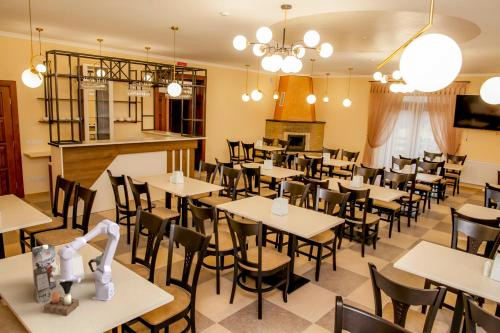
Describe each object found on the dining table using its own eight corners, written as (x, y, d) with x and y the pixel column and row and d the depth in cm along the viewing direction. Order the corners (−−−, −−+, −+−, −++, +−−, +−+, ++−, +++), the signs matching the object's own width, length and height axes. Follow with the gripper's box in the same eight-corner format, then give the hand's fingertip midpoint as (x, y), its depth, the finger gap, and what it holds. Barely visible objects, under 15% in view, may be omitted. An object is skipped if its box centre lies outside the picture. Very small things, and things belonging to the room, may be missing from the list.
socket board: (79, 305, 189) (78, 299, 189) (66, 315, 180) (66, 309, 179) (57, 302, 191) (57, 296, 191) (44, 312, 181) (43, 306, 181)
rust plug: (60, 301, 187) (60, 292, 186) (56, 304, 183) (56, 295, 183) (55, 300, 187) (54, 291, 186) (50, 303, 184) (50, 295, 183)
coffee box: (51, 299, 194) (50, 272, 191) (38, 303, 190) (36, 275, 187) (47, 292, 200) (46, 266, 198) (34, 296, 196) (32, 269, 193)
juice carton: (32, 289, 202) (29, 245, 198) (50, 282, 211) (47, 240, 207) (40, 294, 198) (38, 249, 193) (58, 287, 207) (56, 243, 202)
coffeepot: (112, 274, 225) (111, 248, 222) (117, 280, 217) (116, 253, 214) (86, 281, 215) (85, 253, 212) (91, 287, 208) (90, 259, 205)
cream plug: (72, 302, 186) (72, 294, 185) (68, 306, 182) (68, 297, 182) (67, 302, 186) (66, 293, 185) (62, 305, 183) (62, 296, 182)
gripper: (48, 270, 178) (49, 295, 180) (74, 274, 176) (75, 299, 178) (57, 265, 185) (58, 288, 187) (82, 268, 183) (83, 292, 185)
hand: (67, 293), depth 183 cm, fingers closed
